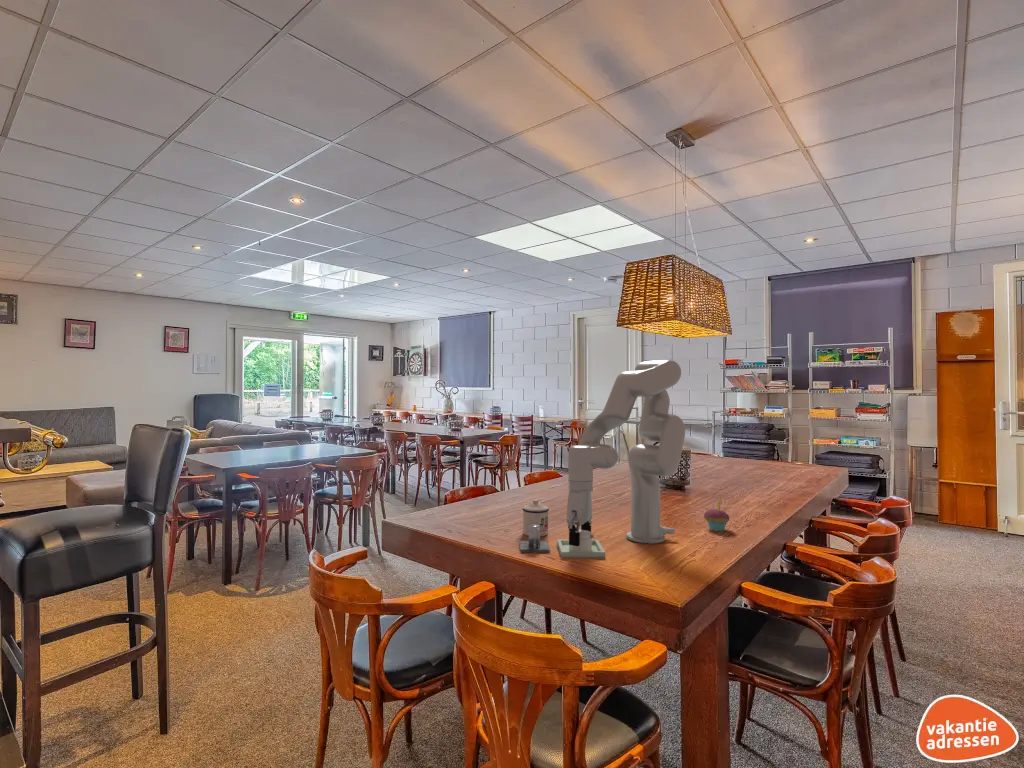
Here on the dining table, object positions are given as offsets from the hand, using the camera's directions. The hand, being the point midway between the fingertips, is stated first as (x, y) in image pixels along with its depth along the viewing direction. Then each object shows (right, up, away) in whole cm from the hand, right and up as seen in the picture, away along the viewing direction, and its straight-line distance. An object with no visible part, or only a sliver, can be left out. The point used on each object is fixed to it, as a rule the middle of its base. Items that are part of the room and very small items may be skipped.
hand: (580, 541), depth 158 cm
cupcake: (+53, -4, +27) cm, 59 cm away
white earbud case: (0, -3, 0) cm, 3 cm away
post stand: (-14, -3, +3) cm, 15 cm away
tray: (0, -3, 0) cm, 3 cm away
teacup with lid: (-12, -4, +21) cm, 24 cm away
